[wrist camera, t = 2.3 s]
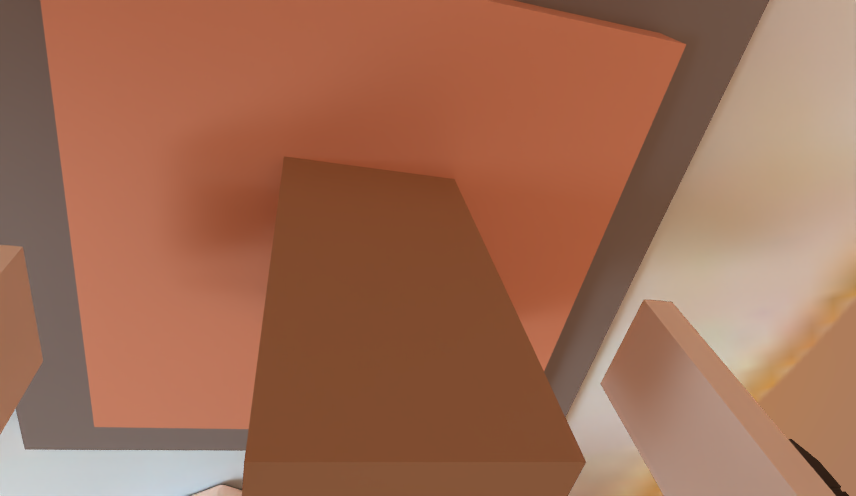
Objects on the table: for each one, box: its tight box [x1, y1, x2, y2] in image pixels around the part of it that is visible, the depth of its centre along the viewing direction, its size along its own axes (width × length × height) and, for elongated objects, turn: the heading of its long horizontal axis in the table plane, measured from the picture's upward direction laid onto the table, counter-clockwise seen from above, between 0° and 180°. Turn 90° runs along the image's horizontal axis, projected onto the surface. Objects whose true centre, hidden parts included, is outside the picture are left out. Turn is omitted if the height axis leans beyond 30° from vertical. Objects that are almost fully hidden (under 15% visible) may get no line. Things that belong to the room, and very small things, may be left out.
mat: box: [0, 0, 769, 450], centre depth 15 cm, size 18×18×1 cm
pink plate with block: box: [40, 0, 686, 496], centre depth 11 cm, size 13×13×9 cm
